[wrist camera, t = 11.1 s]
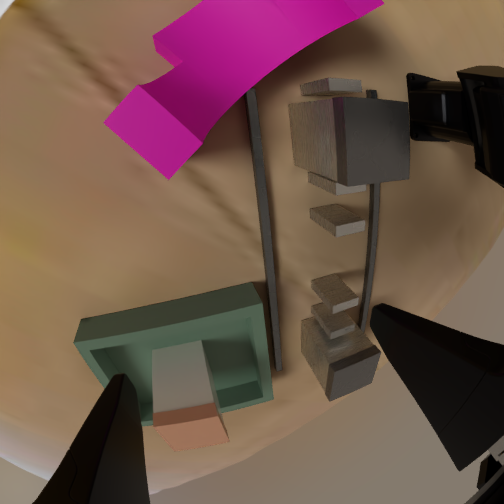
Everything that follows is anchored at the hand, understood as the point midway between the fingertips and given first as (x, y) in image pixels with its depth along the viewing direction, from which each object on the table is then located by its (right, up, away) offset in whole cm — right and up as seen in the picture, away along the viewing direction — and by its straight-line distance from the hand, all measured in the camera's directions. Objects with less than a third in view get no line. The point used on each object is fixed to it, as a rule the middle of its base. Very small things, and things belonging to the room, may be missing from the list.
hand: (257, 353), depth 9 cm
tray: (-7, -6, +15) cm, 18 cm away
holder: (+6, +4, +14) cm, 16 cm away
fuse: (-6, -7, +15) cm, 18 cm away
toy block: (-2, +16, +6) cm, 18 cm away
